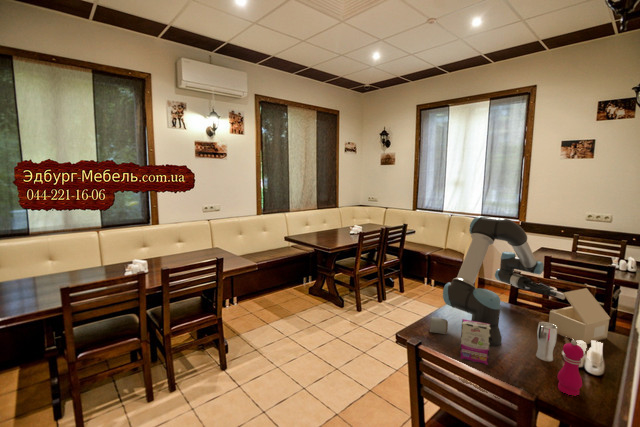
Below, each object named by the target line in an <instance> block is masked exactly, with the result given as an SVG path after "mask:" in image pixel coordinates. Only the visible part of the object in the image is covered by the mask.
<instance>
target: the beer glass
mask: <svg viewBox="0 0 640 427" xmlns="http://www.w3.org/2000/svg"><path fill="white" fill-rule="evenodd" d="M536 338H537V339H536V340H537V350H536V354H535V356H536V357H537V358H538V359H539V360H542V361H544V362H548V363H549V362H553V361H554V356H553V354H554V348H555V347H556V344H557V339H558V334H557V326H555V325H554V324H551V323H549V321H547V322H546V321H539V322H538V326H537V332H536Z"/></svg>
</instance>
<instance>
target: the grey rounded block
mask: <svg viewBox="0 0 640 427" xmlns="http://www.w3.org/2000/svg"><path fill="white" fill-rule="evenodd" d="M429 324H430V326H429V332H430V333H435V334H441V335H447V333H448V330H449V329H448V327H449V326H448V325H449V321H448V320H447V319H445V318H442V317H441V318H440V317H436V316H430V322H429Z"/></svg>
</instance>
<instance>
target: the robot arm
mask: <svg viewBox="0 0 640 427" xmlns="http://www.w3.org/2000/svg"><path fill="white" fill-rule="evenodd" d="M468 229H469V230H468V231H469V233H470V238H471V239H472V240H471V242H470V245H469V246H468V247H469V248H468V249H467V251H466V254H465V257H464V260H463V261H462V264H461V267H460V269H459V271H458V274H457V277H455V278H453V279H452V280H451V282H447V283H446V284H445V285H444V287H443V290H442V299H443V301H444V304H446V305H447V306H449V307H452V308H453V309H457V310H460V311H463V312H465V313H468V314H471V319H470V321H476V322H482V323H487V324H490V328H491V333H490V347H498V346H500V345H501V344H502V340H503V339H502V333H501V331H500V328H499V324H500V313H501V297H500V296H499V295H498V294H497V293H496V292H494V291H492V290H489V289H487V288H477V287H476V286H475V282H476V279H477V278H478V274H479V272H480V270H481V267H482V265H483V261H484V259H485V257H486V254H487V251H488V249H489V246H491V245H493V244H494V242H495V240H498V241H504V242H507V244H508V245H509V246H511V247H512V249H513V251H514V252H512V251H502V252H501V257H500V264H499V265H500V266H499V268H498V269H496V270H495V273H494V277H495V279H496V280H497V281H499V282H502V283H504V284H507V285H510V286H513V287H514V288H519V289H521V290H523V291H530V292H534V293H538V294H541V295H546V296H547V297H550V296H551V297H554V298H556V299H557V298H558V299H561V300H565V299H566V297H565V296H564V294H563V293H564V292H560V291H557V290H555V288H553V287H551V286H549V285H546V284H544V283H543V282H539V283H537V282H535V281H532V279H531V278H530V277H527V276H524V275H522V274H519V273H515V270H517V271H522V272H526V273H529V274H534V275H542V274H543V272H544V268H545V267H544V266H545V265H544V262H542V261H539V260H537V259H536V257H535V255H534V253H533V251H532V248H531V247H530V244H529V242H528V234H527V233H526V231H525V230H524V228H522V227H521V226H520V225H519V224H518V223H516V222H515V221H513V220H512V219H509V218H503V217H502V218H501V217H493V216H487V215H484V216H483V215H478V216H475V217H473V219H472V220H471V222H470V224H469V228H468ZM513 271H514V272H513ZM511 284H512V285H511Z"/></svg>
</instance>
